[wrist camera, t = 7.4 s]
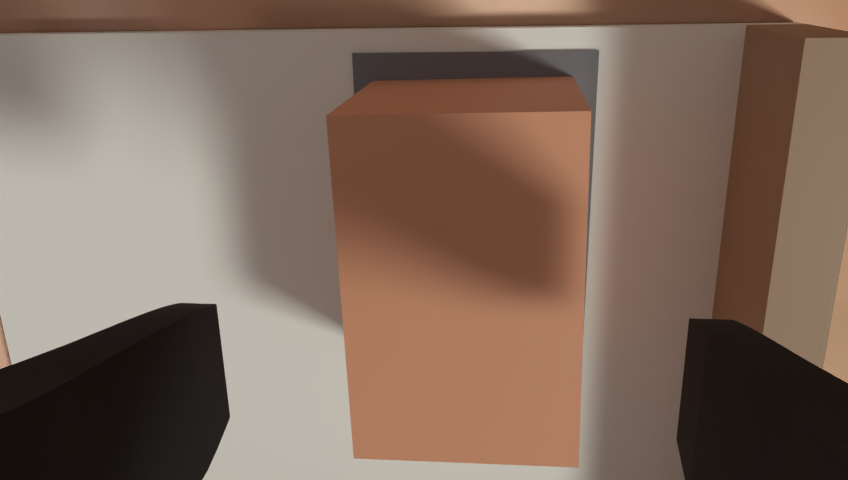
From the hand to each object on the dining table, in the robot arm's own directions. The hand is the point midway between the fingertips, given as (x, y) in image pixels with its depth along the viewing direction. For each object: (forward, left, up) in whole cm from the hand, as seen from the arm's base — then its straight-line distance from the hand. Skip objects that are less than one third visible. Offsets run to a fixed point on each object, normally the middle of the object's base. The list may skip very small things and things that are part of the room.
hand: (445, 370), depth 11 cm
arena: (-3, +3, -8) cm, 9 cm away
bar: (0, 0, -7) cm, 7 cm away
